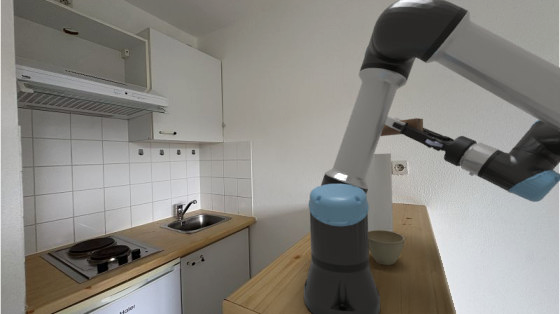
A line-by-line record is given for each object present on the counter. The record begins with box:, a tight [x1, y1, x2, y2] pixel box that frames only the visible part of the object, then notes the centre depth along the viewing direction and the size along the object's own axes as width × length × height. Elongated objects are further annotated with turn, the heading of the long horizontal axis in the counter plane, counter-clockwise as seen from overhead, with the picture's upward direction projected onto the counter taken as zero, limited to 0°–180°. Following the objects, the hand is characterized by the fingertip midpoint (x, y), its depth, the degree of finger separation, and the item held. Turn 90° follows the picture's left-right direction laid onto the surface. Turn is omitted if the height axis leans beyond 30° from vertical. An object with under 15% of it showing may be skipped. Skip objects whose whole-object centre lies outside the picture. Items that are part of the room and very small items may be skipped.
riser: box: [365, 152, 394, 232], centre depth 82 cm, size 10×14×30 cm
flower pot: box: [368, 230, 405, 266], centre depth 63 cm, size 10×10×7 cm
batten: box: [380, 117, 424, 137], centre depth 77 cm, size 4×24×4 cm, turn 35°
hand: (390, 120), depth 74 cm, fingers closed on batten, 4 cm apart
